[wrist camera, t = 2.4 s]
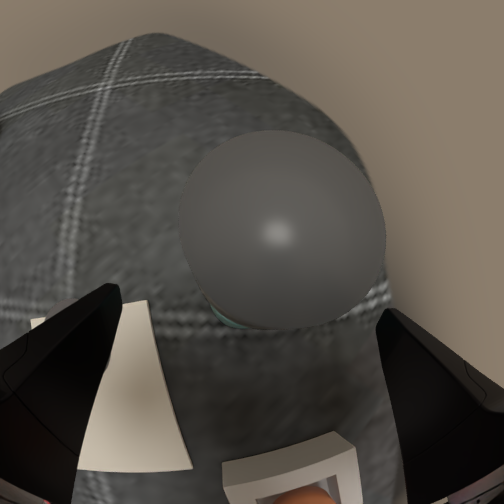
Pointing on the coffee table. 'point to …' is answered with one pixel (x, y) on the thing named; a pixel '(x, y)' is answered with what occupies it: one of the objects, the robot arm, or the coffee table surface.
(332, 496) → the button housing
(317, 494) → the button
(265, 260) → the ball
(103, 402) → the board
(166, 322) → the coffee table surface
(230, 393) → the coffee table surface
